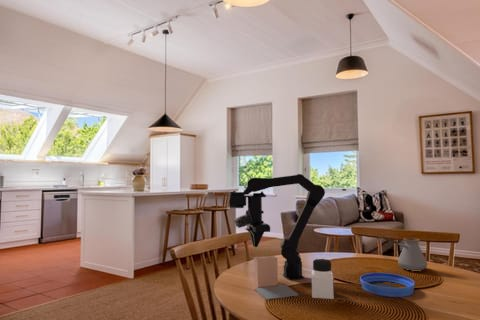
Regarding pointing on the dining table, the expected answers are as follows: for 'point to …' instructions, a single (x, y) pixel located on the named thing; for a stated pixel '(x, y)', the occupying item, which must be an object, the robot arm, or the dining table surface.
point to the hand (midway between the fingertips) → (255, 246)
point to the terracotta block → (265, 271)
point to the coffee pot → (410, 254)
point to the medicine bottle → (322, 279)
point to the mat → (276, 292)
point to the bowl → (387, 288)
